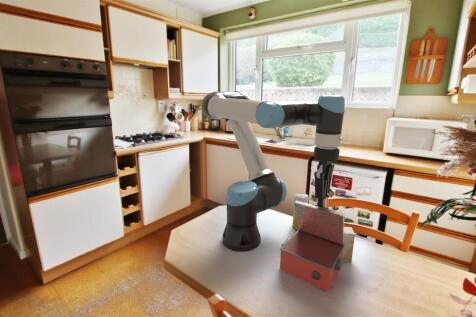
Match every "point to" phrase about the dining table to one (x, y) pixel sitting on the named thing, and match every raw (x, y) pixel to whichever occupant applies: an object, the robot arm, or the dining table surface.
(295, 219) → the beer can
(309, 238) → the red hinged chest
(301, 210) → the lid
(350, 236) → the box
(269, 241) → the dining table surface
